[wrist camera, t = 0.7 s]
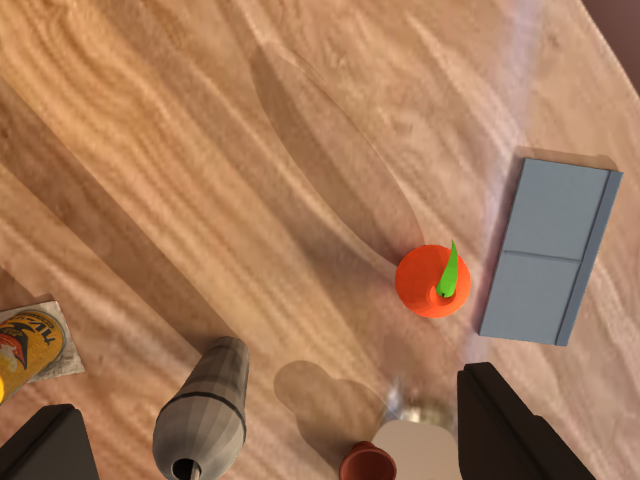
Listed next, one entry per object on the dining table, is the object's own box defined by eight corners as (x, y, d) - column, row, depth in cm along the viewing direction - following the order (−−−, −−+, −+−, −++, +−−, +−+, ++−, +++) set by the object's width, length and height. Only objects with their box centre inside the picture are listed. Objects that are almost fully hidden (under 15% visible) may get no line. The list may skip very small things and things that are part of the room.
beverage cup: (203, 317, 42) (113, 470, 23) (270, 334, 43) (237, 498, 23) (188, 375, 44) (92, 565, 24) (253, 391, 44) (209, 587, 25)
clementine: (404, 219, 40) (423, 236, 33) (468, 236, 41) (500, 257, 34) (380, 291, 42) (394, 322, 35) (442, 307, 42) (467, 339, 36)
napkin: (523, 157, 39) (526, 158, 38) (621, 172, 39) (624, 172, 39) (477, 333, 43) (479, 336, 43) (565, 344, 44) (567, 346, 43)
